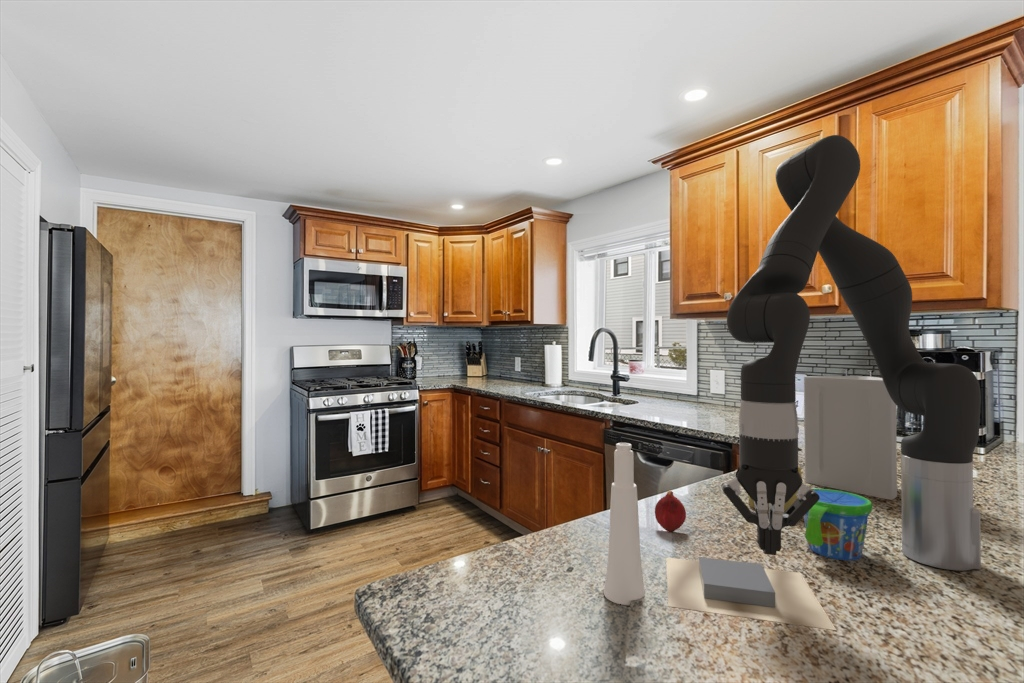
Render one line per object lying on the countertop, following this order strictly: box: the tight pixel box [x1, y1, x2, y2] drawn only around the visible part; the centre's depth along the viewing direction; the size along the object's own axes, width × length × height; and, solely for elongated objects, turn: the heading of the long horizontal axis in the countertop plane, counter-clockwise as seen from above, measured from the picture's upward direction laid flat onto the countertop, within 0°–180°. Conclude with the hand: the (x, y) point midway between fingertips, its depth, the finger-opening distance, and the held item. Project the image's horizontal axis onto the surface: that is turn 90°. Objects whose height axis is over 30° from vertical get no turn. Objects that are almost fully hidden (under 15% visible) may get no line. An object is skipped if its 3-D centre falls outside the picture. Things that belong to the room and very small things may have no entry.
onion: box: [654, 490, 687, 533], centre depth 95 cm, size 6×6×8 cm
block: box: [698, 556, 775, 607], centre depth 71 cm, size 2×9×9 cm
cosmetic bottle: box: [603, 442, 646, 606], centre depth 71 cm, size 6×6×22 cm
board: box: [665, 556, 837, 632], centre depth 71 cm, size 20×16×1 cm
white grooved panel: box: [803, 375, 898, 501], centre depth 127 cm, size 19×15×28 cm
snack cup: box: [803, 488, 874, 562], centre depth 84 cm, size 16×10×10 cm
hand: (768, 552), depth 70 cm, fingers closed
